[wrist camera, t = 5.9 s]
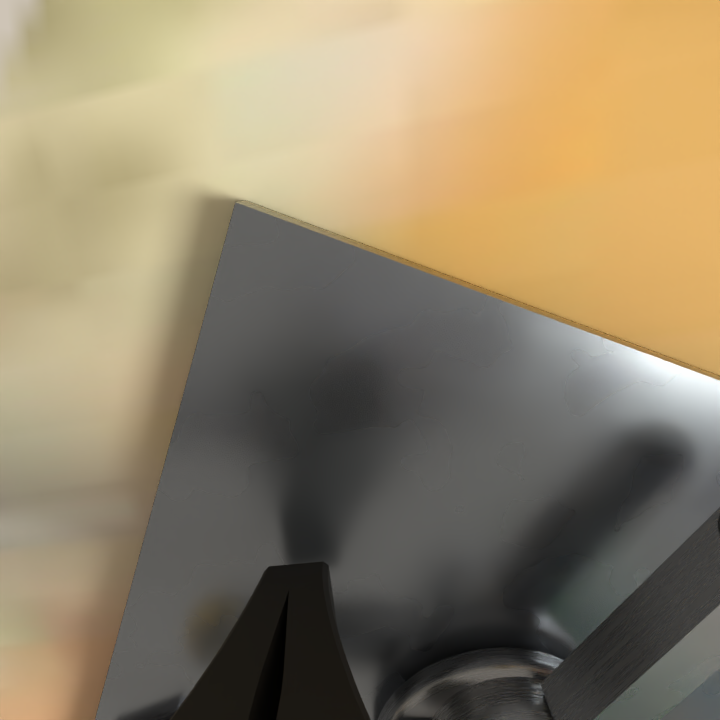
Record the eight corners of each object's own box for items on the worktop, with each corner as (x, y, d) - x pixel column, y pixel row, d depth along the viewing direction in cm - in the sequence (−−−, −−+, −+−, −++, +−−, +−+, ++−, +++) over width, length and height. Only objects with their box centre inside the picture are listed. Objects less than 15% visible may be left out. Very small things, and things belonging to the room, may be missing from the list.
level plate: (995, 477, 13) (1093, 522, 11) (611, 907, 19) (637, 978, 17) (245, 200, 10) (225, 203, 9) (78, 804, 16) (47, 875, 15)
